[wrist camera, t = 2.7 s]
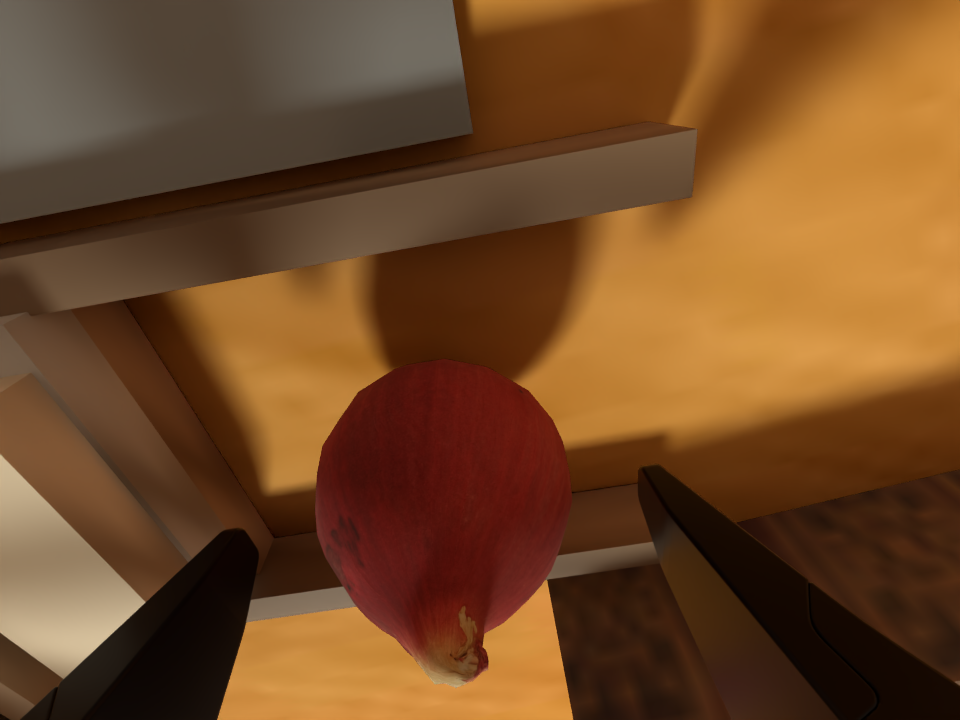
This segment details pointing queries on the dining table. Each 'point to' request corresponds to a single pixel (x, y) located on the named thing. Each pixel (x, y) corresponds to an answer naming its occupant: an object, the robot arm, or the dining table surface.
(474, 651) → the onion
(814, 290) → the dining table surface
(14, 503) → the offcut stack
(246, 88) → the slate board
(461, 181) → the rack
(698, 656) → the book
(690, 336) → the dining table surface
